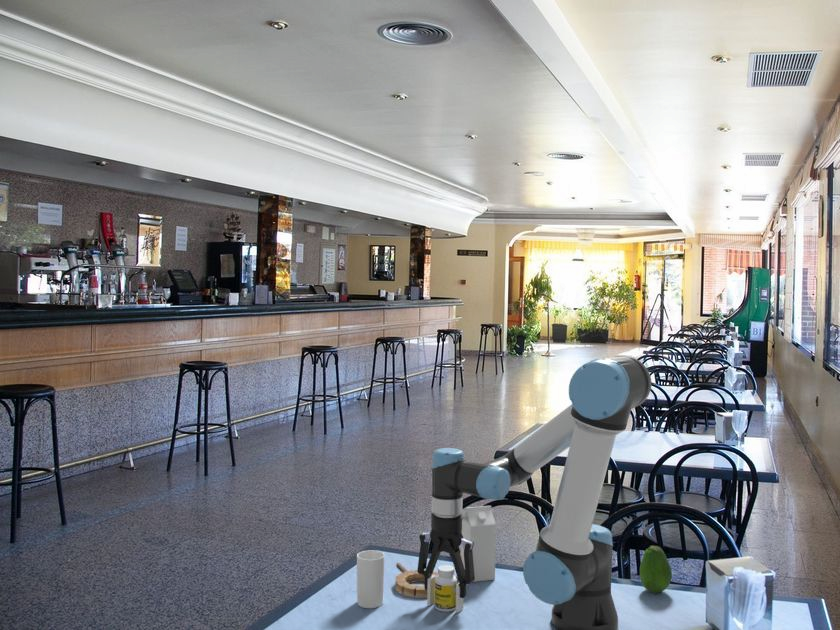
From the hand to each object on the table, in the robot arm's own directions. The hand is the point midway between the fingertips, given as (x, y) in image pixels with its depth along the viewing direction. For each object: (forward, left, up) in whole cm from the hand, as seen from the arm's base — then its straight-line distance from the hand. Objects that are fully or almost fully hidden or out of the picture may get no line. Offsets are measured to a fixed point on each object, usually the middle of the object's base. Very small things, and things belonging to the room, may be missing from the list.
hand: (445, 606), depth 186 cm
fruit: (-43, -35, 0) cm, 55 cm away
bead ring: (+11, -8, 0) cm, 14 cm away
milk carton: (+1, -22, 0) cm, 22 cm away
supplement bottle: (0, 0, 0) cm, 0 cm away
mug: (+18, +5, 0) cm, 18 cm away
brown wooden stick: (+20, -15, 0) cm, 25 cm away
